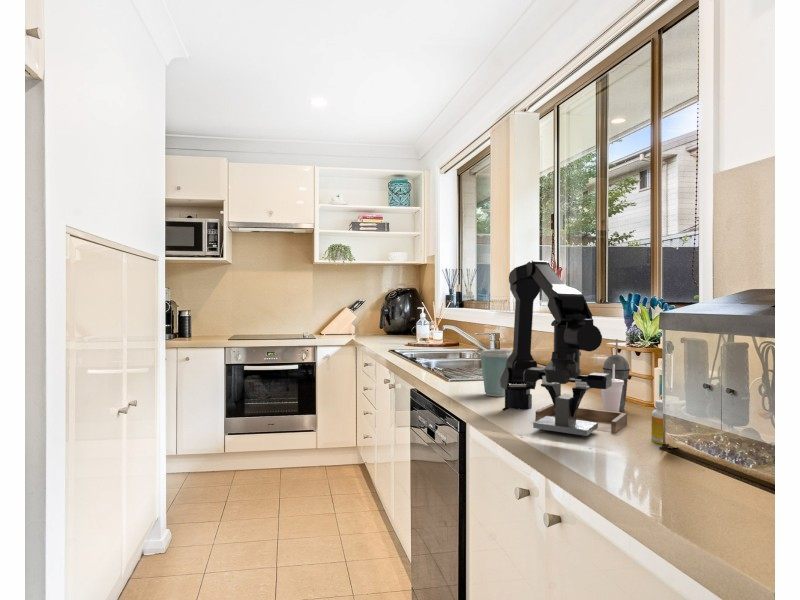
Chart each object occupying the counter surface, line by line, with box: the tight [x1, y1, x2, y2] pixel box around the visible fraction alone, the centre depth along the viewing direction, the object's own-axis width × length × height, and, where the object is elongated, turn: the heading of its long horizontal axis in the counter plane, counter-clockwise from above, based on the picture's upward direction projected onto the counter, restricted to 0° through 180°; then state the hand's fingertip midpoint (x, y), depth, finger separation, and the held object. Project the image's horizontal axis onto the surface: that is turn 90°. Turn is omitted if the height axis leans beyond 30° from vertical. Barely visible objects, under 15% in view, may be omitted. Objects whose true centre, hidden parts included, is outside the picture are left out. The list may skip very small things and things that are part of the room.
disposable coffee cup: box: [479, 348, 513, 397], centre depth 178 cm, size 11×11×15 cm
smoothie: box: [600, 364, 624, 412], centre depth 149 cm, size 6×6×14 cm
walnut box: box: [534, 403, 628, 434], centre depth 136 cm, size 19×12×4 cm, turn 56°
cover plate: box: [532, 393, 598, 437], centre depth 126 cm, size 12×9×7 cm
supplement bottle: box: [650, 399, 663, 445], centre depth 119 cm, size 5×5×10 cm
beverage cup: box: [602, 339, 631, 412], centre depth 158 cm, size 7×7×20 cm
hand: (565, 415), depth 126 cm, fingers closed on cover plate, 3 cm apart
